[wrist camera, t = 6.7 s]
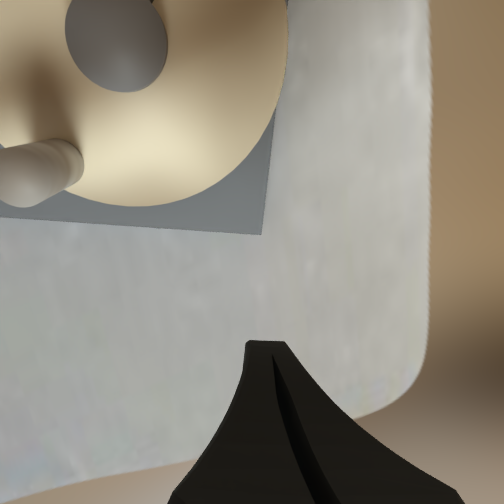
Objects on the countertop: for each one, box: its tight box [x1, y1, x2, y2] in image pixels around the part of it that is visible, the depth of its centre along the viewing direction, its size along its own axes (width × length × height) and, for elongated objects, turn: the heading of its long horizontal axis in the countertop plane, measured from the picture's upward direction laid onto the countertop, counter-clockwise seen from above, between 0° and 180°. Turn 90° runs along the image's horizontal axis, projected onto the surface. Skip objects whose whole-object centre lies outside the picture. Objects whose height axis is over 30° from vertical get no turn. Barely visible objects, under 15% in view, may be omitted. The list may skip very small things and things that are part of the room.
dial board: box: [0, 0, 288, 235], centre depth 16 cm, size 14×16×3 cm
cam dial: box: [0, 0, 288, 207], centre depth 13 cm, size 13×13×5 cm
